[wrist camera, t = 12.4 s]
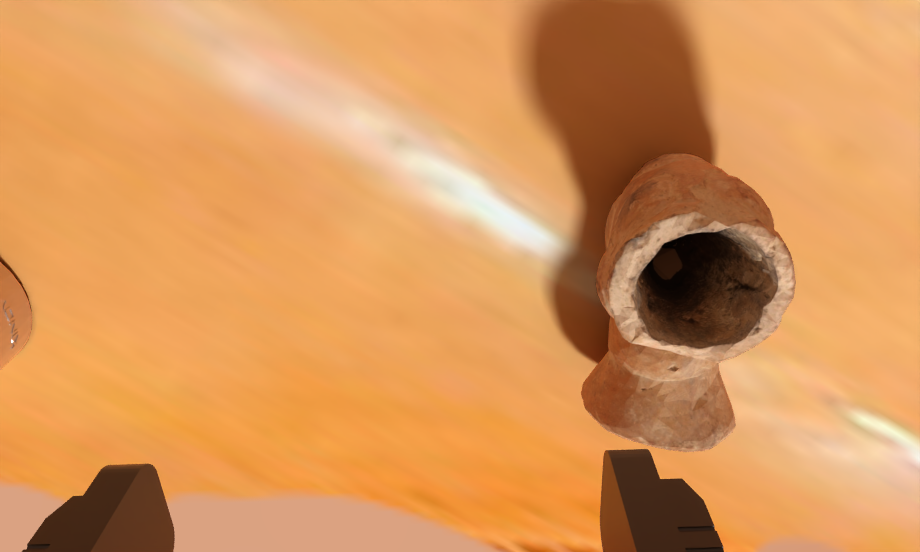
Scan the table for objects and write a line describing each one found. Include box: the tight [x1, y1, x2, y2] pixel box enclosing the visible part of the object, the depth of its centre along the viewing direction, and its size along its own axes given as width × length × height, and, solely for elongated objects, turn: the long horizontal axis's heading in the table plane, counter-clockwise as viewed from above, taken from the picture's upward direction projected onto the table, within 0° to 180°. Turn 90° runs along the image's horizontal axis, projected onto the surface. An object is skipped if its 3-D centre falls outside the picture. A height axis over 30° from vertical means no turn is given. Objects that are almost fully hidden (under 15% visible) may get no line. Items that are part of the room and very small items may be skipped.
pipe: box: [581, 153, 796, 452], centre depth 37 cm, size 9×16×10 cm, turn 3°
